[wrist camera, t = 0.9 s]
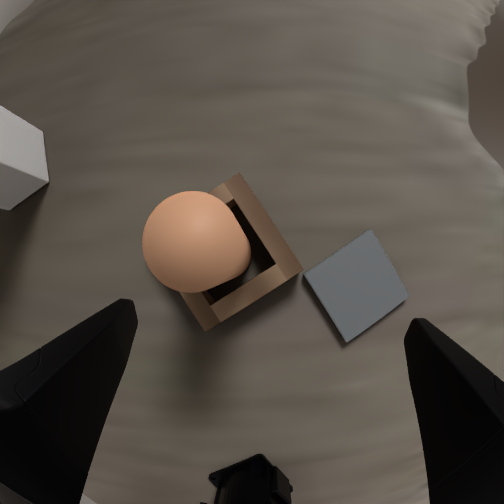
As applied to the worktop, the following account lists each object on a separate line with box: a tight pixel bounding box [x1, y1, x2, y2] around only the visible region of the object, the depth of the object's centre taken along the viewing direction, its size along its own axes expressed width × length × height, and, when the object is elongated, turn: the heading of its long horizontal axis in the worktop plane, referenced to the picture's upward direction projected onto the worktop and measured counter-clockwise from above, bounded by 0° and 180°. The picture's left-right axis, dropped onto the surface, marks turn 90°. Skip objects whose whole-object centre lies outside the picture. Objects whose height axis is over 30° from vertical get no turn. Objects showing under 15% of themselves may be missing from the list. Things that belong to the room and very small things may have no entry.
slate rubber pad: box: [303, 229, 409, 343], centre depth 25 cm, size 7×7×1 cm
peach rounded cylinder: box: [142, 191, 252, 293], centre depth 20 cm, size 4×4×13 cm
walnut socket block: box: [179, 173, 304, 332], centre depth 25 cm, size 9×9×2 cm
